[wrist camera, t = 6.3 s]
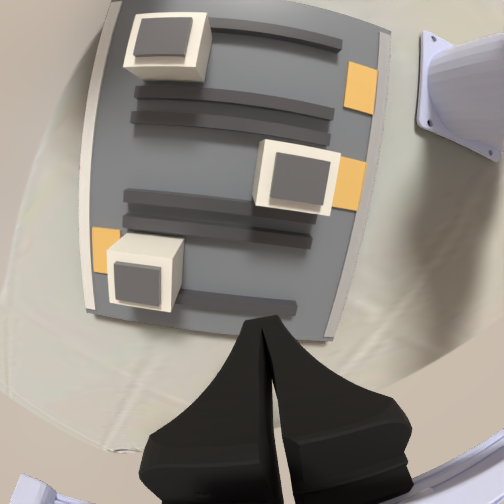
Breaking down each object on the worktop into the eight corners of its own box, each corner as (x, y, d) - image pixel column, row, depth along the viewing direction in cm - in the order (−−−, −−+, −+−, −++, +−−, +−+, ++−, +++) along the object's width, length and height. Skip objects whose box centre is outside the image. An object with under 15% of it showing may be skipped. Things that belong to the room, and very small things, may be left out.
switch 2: (184, 237, 17) (170, 261, 13) (181, 283, 18) (169, 316, 14) (129, 231, 17) (103, 253, 13) (129, 276, 18) (107, 306, 14)
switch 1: (212, 37, 13) (205, 9, 10) (204, 83, 14) (194, 64, 11) (153, 36, 13) (133, 11, 9) (144, 81, 14) (119, 65, 10)
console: (383, 36, 14) (396, 27, 12) (328, 332, 21) (335, 347, 20) (118, 4, 13) (108, -7, 11) (92, 304, 20) (82, 318, 18)
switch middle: (320, 152, 16) (343, 153, 12) (312, 202, 17) (332, 218, 13) (259, 141, 16) (266, 138, 12) (251, 194, 16) (256, 207, 13)
